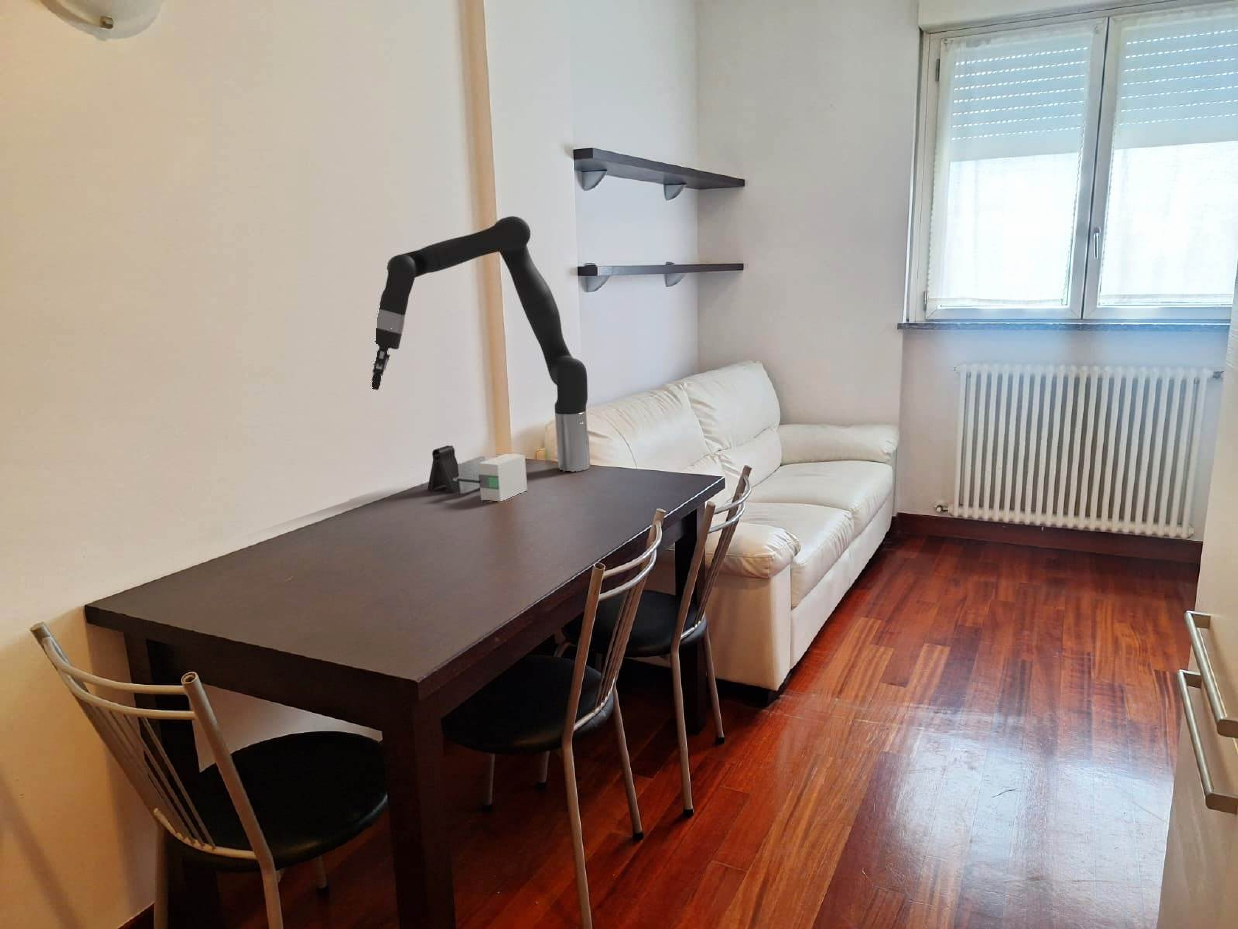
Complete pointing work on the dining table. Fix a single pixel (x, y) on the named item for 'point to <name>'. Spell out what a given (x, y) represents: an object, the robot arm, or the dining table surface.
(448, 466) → the phone stand
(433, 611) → the dining table surface
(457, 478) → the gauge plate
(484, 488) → the box
